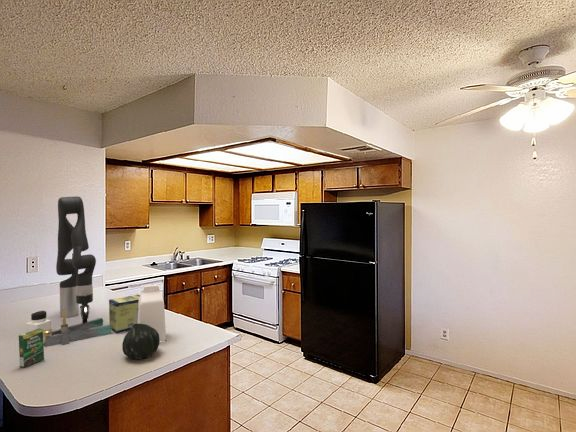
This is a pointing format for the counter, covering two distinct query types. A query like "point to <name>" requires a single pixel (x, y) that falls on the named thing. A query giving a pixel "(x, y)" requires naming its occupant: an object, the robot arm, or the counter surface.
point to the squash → (140, 341)
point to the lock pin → (64, 317)
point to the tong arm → (82, 326)
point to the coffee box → (31, 347)
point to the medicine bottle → (39, 321)
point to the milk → (152, 310)
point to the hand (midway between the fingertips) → (84, 326)
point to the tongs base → (74, 334)
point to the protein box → (123, 313)
